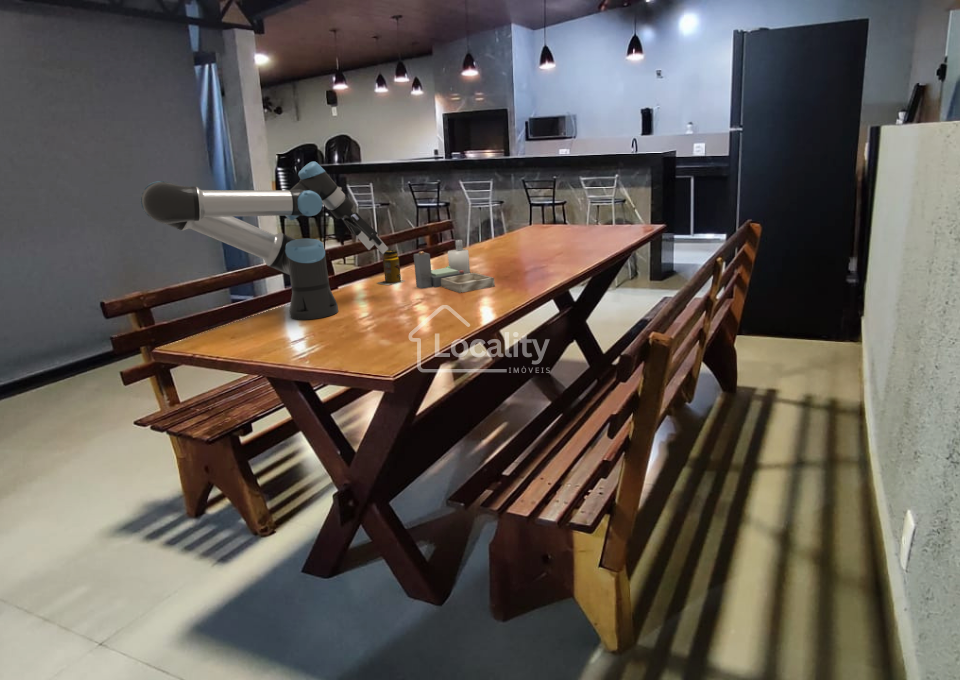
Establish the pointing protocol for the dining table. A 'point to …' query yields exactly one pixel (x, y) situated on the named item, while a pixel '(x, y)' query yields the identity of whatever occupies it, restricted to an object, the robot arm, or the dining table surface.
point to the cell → (423, 270)
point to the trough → (467, 282)
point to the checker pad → (443, 272)
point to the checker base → (437, 280)
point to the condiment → (391, 268)
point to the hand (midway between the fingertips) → (378, 249)
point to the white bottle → (459, 258)
